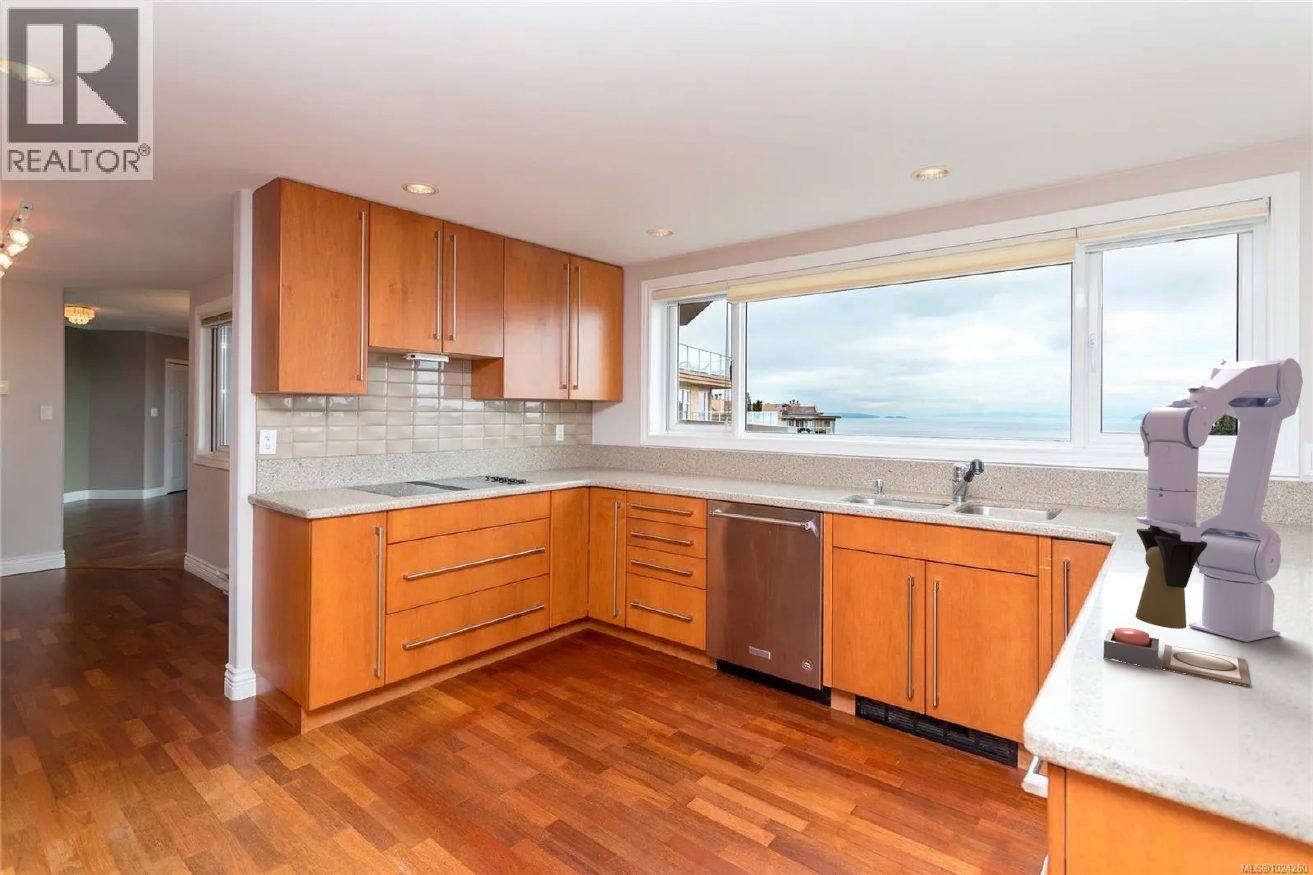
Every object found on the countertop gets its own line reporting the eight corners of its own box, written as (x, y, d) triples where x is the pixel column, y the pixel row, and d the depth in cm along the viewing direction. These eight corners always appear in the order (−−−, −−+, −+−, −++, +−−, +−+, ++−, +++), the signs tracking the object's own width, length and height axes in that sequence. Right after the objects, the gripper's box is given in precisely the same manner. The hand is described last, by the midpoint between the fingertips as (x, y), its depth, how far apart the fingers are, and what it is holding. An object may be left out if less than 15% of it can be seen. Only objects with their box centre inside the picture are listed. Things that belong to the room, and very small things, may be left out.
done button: (1115, 636, 96) (1116, 625, 96) (1149, 642, 94) (1150, 631, 94) (1113, 643, 93) (1113, 632, 93) (1148, 650, 91) (1148, 639, 91)
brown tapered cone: (1196, 630, 93) (1205, 555, 92) (1148, 626, 94) (1156, 551, 93) (1171, 616, 99) (1179, 545, 98) (1127, 611, 100) (1134, 541, 99)
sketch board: (1164, 647, 98) (1164, 642, 98) (1245, 662, 92) (1245, 657, 92) (1161, 669, 89) (1161, 664, 89) (1250, 687, 84) (1250, 682, 84)
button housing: (1107, 647, 98) (1108, 629, 98) (1158, 656, 94) (1159, 639, 94) (1103, 658, 93) (1104, 640, 93) (1156, 669, 89) (1156, 650, 89)
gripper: (1122, 483, 103) (1119, 568, 104) (1158, 494, 89) (1154, 592, 90) (1176, 485, 101) (1172, 572, 101) (1221, 496, 87) (1217, 597, 88)
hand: (1168, 581), depth 96 cm, fingers closed on brown tapered cone, 5 cm apart
